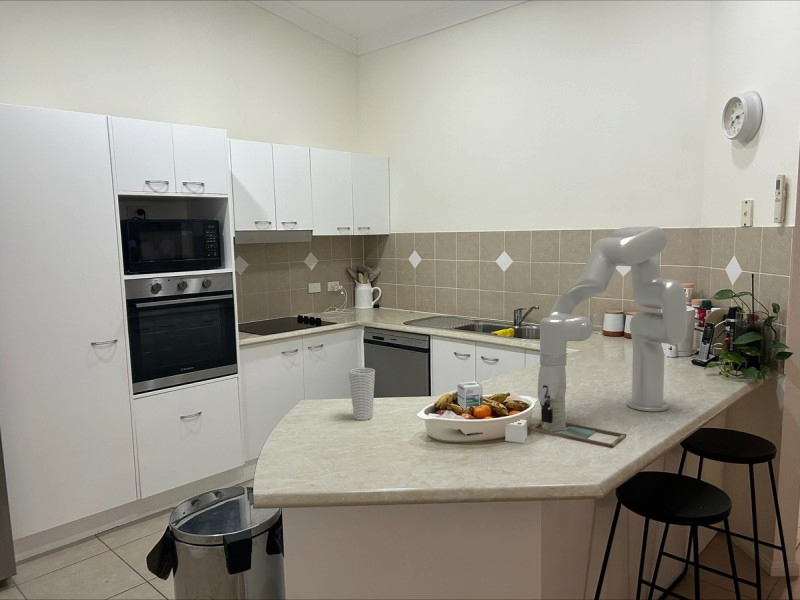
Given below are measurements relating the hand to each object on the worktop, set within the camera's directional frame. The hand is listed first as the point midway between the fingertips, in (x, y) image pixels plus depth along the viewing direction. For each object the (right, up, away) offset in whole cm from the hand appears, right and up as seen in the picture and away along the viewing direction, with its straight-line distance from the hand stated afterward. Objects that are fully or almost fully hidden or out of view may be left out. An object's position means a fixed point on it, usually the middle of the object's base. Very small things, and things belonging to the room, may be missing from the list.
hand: (552, 418), depth 171 cm
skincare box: (0, -3, 0) cm, 3 cm away
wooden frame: (+6, -4, -4) cm, 8 cm away
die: (-12, -4, -7) cm, 15 cm away
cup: (-57, -3, +15) cm, 59 cm away
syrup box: (-24, -4, 0) cm, 25 cm away
